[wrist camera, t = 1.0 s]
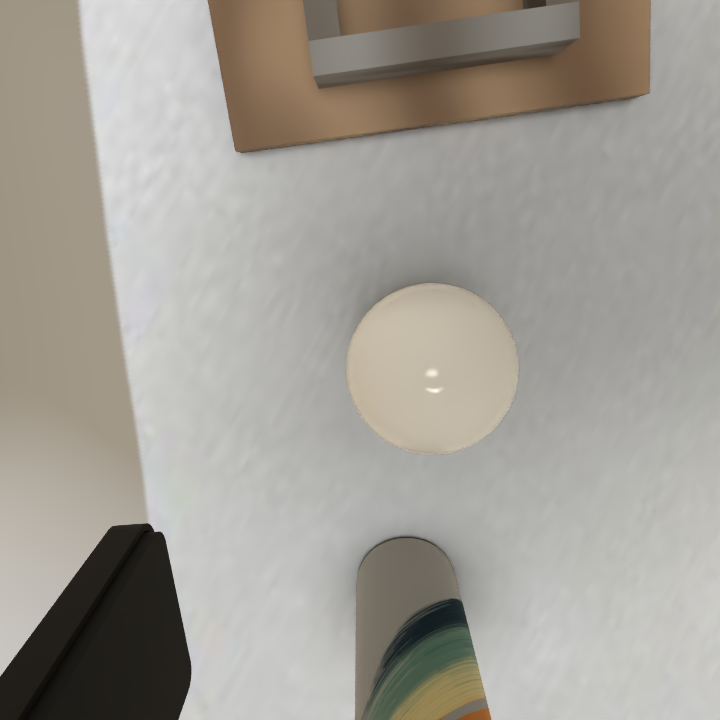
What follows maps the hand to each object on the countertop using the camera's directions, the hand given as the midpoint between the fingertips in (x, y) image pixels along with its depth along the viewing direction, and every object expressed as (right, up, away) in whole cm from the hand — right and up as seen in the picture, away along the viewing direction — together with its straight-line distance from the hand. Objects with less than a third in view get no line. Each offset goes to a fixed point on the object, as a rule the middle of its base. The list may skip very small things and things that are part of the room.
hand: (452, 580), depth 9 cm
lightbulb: (+1, +6, +20) cm, 21 cm away
